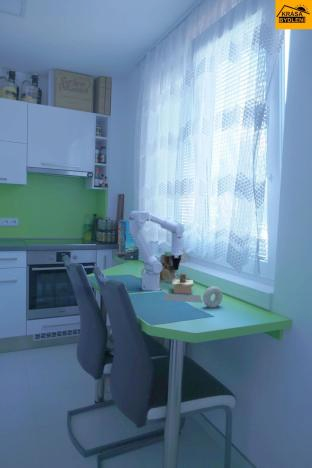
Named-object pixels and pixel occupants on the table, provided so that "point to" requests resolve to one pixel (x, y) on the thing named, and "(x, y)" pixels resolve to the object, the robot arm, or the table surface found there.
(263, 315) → the table surface
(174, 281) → the lid
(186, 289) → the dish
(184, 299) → the mat
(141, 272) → the cup
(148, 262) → the robot arm
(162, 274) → the coffee box
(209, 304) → the donut
